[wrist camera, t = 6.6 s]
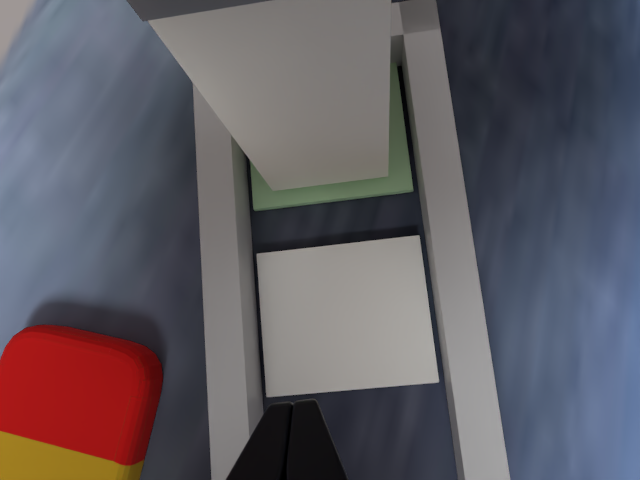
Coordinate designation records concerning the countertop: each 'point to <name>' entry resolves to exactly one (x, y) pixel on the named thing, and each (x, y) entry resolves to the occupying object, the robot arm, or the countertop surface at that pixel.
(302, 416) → the robot arm
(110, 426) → the popsicle
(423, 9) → the frame
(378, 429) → the countertop surface
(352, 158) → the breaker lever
